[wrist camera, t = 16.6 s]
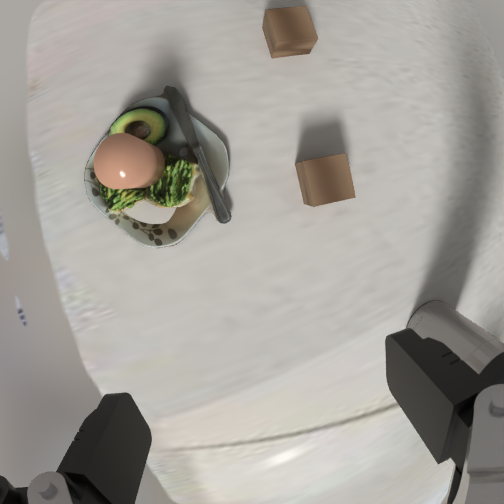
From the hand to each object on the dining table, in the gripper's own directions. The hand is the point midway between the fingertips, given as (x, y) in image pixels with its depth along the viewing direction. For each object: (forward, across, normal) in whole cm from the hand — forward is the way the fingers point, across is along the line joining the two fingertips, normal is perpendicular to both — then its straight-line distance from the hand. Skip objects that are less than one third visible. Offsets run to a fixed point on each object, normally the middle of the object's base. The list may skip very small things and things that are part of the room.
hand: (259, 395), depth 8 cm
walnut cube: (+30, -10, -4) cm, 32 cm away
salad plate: (+31, +9, -11) cm, 34 cm away
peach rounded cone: (+26, +9, -11) cm, 30 cm away
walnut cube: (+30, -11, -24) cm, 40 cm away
